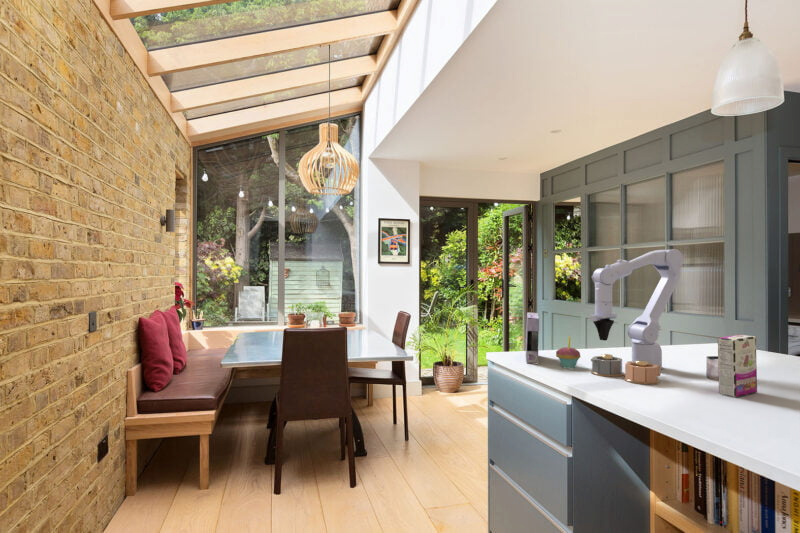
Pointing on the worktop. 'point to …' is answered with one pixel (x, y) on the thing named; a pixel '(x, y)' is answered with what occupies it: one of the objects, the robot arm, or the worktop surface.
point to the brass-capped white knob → (641, 363)
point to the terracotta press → (642, 373)
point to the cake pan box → (532, 337)
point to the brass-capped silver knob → (606, 357)
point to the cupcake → (568, 356)
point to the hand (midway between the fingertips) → (603, 340)
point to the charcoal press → (607, 367)
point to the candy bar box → (737, 365)
